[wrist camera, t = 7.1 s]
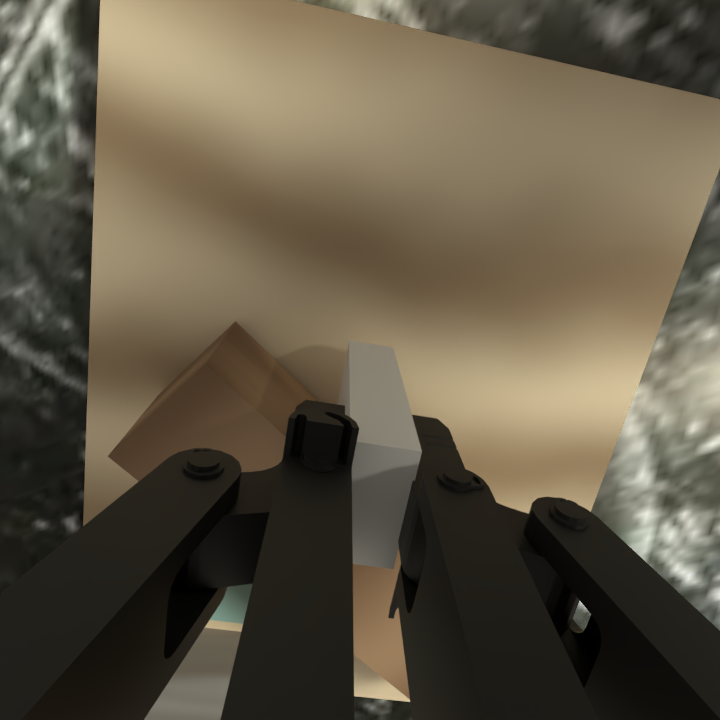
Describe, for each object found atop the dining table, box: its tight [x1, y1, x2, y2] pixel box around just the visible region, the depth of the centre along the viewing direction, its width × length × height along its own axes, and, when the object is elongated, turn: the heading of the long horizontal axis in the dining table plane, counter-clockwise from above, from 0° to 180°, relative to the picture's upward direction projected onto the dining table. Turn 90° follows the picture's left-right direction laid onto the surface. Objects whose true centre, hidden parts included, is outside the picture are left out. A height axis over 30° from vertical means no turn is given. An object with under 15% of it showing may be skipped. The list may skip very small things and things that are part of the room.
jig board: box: [83, 0, 720, 720], centre depth 17 cm, size 24×18×6 cm
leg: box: [108, 321, 410, 699], centre depth 17 cm, size 12×4×4 cm, turn 42°
